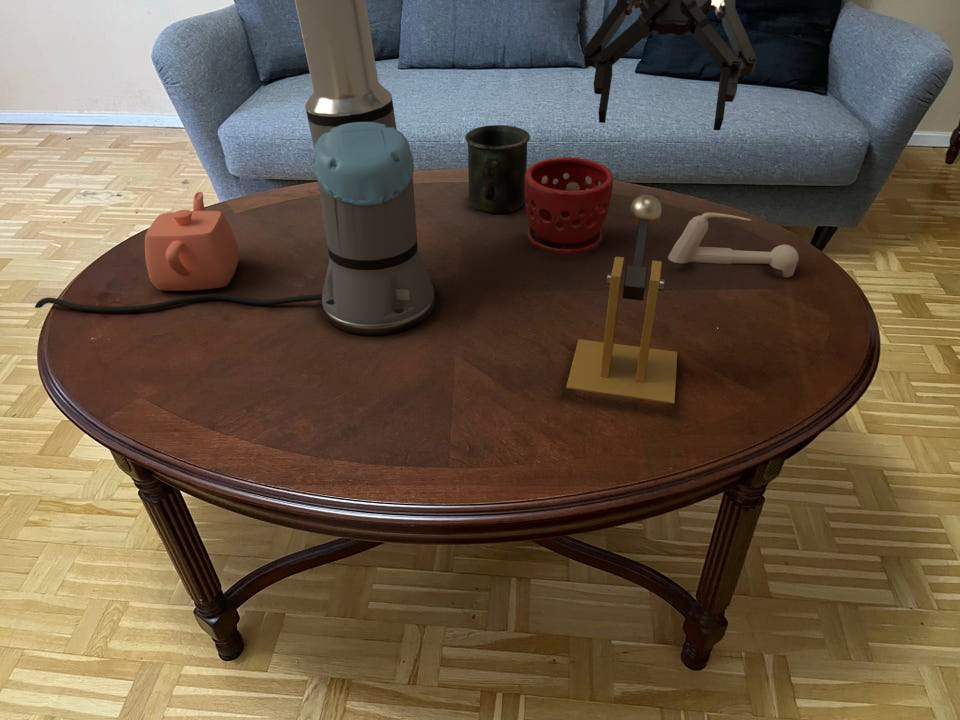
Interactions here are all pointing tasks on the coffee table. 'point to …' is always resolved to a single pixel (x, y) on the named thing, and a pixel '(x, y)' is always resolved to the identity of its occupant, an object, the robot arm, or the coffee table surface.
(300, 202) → the coffee table surface
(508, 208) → the mug
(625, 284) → the black lever with ball
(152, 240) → the teapot
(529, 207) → the flower pot
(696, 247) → the faucet
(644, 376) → the yellow post stand
